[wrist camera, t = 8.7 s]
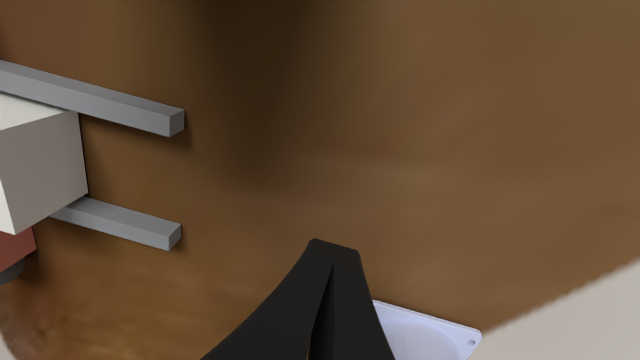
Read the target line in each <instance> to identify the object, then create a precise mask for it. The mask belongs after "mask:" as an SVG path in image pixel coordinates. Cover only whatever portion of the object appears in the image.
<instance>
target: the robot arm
mask: <svg viewBox="0 0 640 360" xmlns="http://www.w3.org/2000/svg"><path fill="white" fill-rule="evenodd" d="M310 337H311V339H310ZM481 340H482V335H481V332H480V331H479V330H477V329H474V328H471V327H467V326H464V325H461V324H457V323H454V322H450V321H447V320H443V319H440V318H436V317H433V316H429V315H426V314H422V313H419V312H415V311H412V310H409V309H405V308H402V307H398V306H395V305H391V304H388V303H384V302H381V301H377V300H372V298H371V295H370V292H369V289H368V285H367V282H366V279H365V275H364V271H363V267H362V263H361V259H360V254H359V253H358V251H357V250H354V249H350V248H347V247H343V246H340V245H336V244H333V243H329V242H326V241H322V240H319V239H315V238H314V239H312V240H310V241H309V243H308V246H307V248H306V249H305V251H304V253H303V254H302V256H301V257H300V259H299V260H298V261H297V263H296V264H295V266H294V267H293V268H292V270H291V271H290V272H289V273H288V274H287V276H286V277H285V278H284V279H283V280H282V282H281V283H280V284H279V285H278V286H277V288H276V289H275V290H274V291H273V292H272V293H271V294H270V295H269V296H268V297H267V298H266V299H265V300H264V302H263V303H262V304H261V305H260V306H259V307H258V308H257V309H256V310H255V311H254V312H253V313H252V314H251V315H250V316H249V317H248V318H247V319H246V320H245V321H244V322H243V323H242V324H241V325H239V326H238V327H237V328H236V329H235V330H234V331H233V332H232V333H231V334H230V335H228V336H227V337H226V338H225V339H224V340H223V341H222V342H221V343H219V344H218V345H217V346H216V347H215V348H213V349H212V350H211V351H210V352H209V353H207V354H206V355H205V356H204V357H203V358H201V359H200V360H306V358H307V353H308V347H309V342H310V347H309V354H308V360H468V358H469V357H470V355H471V354H472V352H473V351H474V350H475V348H476V347H477V345H478V344H479V343H480V341H481Z"/></svg>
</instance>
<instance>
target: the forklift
mask: <svg viewBox="0 0 640 360" xmlns="http://www.w3.org/2000/svg"><path fill="white" fill-rule="evenodd" d="M0 91H4V92H7V93H11V94H15V95H18V96H22V97H25V98H29V99H33V100H36V101H40V102H44V103H47V104H51V105H54V106H58V107H62V108H65V109H69V110H73V111H76V112H80V113H83V114H87V115H91V116H94V117H98V118H102V119H105V120H109V121H113V122H116V123H120V124H123V125H127V126H131V127H134V128H138V129H142V130H145V131H149V132H152V133H156V134H160V135H163V136H167V137H171V136H172V135H174V134H176V133H178V132H180V131H182V130H183V129H184V109H180V108H177V107H173V106H169V105H166V104H162V103H158V102H154V101H151V100H147V99H143V98H140V97H136V96H132V95H129V94H125V93H121V92H118V91H114V90H110V89H107V88H103V87H99V86H96V85H92V84H88V83H84V82H81V81H77V80H73V79H70V78H66V77H62V76H59V75H55V74H51V73H48V72H44V71H40V70H37V69H33V68H29V67H26V66H22V65H18V64H14V63H11V62H7V61H3V60H0ZM49 217H53V218H56V219H60V220H63V221H67V222H70V223H74V224H77V225H80V226H84V227H87V228H91V229H94V230H98V231H101V232H105V233H108V234H111V235H115V236H118V237H122V238H125V239H129V240H132V241H136V242H139V243H143V244H146V245H149V246H153V247H156V248H160V249H163V250H167V251H169V250H170V249H171V248H172V247H173V246H174V245H175V244H176V243H177V241H178V240H179V239H180V238H181V224H179V223H175V222H172V221H168V220H165V219H161V218H158V217H154V216H151V215H147V214H144V213H140V212H137V211H133V210H130V209H127V208H123V207H120V206H116V205H113V204H109V203H106V202H102V201H99V200H95V199H92V198H88V197H85V196H81V197H80V198H78V199H76V200H75V201H73V202H71V203H70V204H68V205H66V206H64V207H63V208H61V209H59V210H58V211H56V212H54V213H52V214H51V215H49ZM35 249H37V248H36V244H35V240H34V235H33V231H32V227H31V226H30V227H28V228H27V229H25V230H23V231H22V232H20V233H18V234H17V235H14V234H10V233H7V232H3V231H0V285H2V284H5V283H7V282H9V281H11V280H13V279H14V278H16V277H17V276H18V275H19V274H21V272H22V271H23V270H24V268H25V260H24V257H25V256H26V255H28V254H29V253H31V252H32V251H34V250H35Z"/></svg>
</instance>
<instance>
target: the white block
mask: <svg viewBox="0 0 640 360" xmlns="http://www.w3.org/2000/svg"><path fill="white" fill-rule="evenodd" d="M87 193H88V189H87V181H86V173H85V165H84V158H83V150H82V142H81V135H80V127H79V119H78V112H76V111H73V110H69V109H65V108H62V107H58V106H54V105H51V104H47V103H44V102H40V101H36V100H33V99H29V98H25V97H22V96H18V95H15V94H11V93H7V92H4V91H0V231H3V232H7V233H10V234H14V235H17V234H18V233H20V232H22V231H23V230H25V229H27V228H28V227H30V226H32V225H34V224H35V223H37V222H39V221H40V220H42V219H44V218H46V217H47V216H49V215H51V214H52V213H54V212H56V211H58V210H59V209H61V208H63V207H64V206H66V205H68V204H70V203H71V202H73V201H75V200H76V199H78V198H80V197H81V196H83V195H85V194H87Z"/></svg>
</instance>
